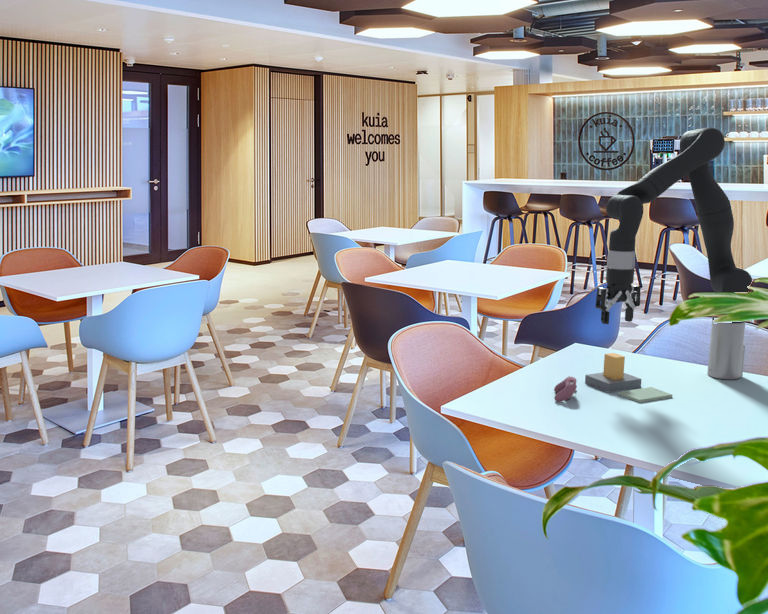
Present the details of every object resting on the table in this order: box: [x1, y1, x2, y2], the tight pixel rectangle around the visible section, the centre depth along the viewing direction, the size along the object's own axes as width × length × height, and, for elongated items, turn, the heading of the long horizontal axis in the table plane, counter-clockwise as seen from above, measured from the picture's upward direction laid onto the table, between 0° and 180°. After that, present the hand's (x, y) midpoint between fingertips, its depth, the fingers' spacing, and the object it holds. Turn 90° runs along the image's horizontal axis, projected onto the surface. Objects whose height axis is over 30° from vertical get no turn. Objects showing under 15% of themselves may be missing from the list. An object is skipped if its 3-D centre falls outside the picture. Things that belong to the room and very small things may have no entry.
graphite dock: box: [584, 372, 642, 393], centre depth 228 cm, size 12×10×2 cm
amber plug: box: [602, 352, 626, 380], centre depth 227 cm, size 3×5×9 cm
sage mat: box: [618, 386, 673, 404], centre depth 218 cm, size 12×8×1 cm, turn 115°
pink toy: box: [553, 375, 578, 403], centre depth 216 cm, size 10×5×7 cm, turn 169°
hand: (616, 322), depth 225 cm, fingers open, 8 cm apart
